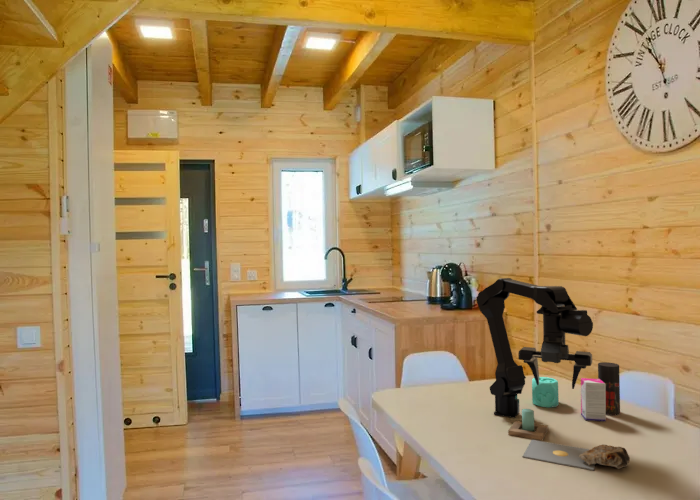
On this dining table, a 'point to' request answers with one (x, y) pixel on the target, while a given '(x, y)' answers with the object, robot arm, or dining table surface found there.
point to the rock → (606, 456)
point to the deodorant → (610, 386)
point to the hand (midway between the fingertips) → (555, 386)
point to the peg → (528, 420)
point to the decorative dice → (545, 392)
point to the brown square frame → (538, 435)
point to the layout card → (557, 454)
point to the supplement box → (593, 399)
